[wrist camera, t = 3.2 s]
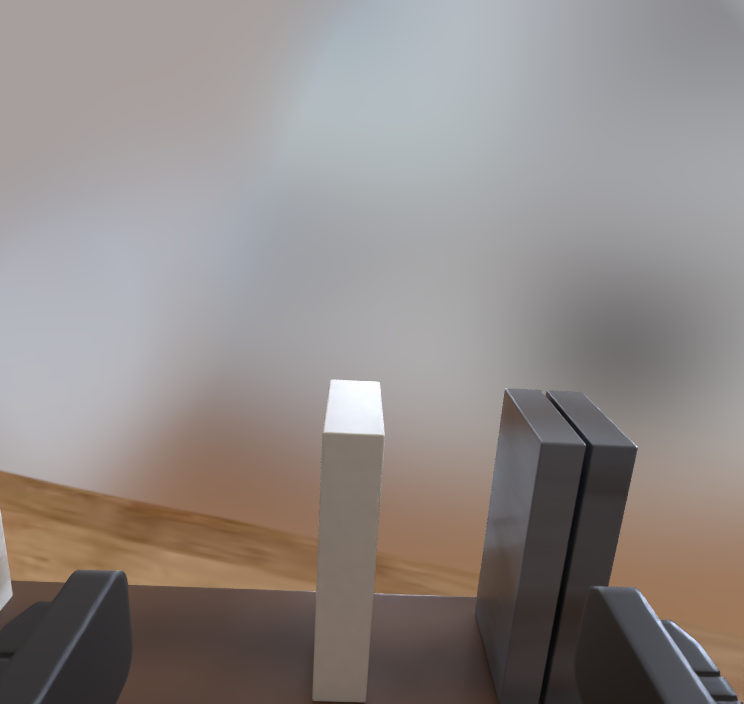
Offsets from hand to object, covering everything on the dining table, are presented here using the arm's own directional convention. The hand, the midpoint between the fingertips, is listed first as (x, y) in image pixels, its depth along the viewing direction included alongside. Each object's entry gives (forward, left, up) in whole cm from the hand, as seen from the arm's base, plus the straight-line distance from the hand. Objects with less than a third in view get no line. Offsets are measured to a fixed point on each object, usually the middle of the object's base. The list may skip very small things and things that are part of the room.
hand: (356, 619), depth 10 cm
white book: (+11, 0, -11) cm, 16 cm away
